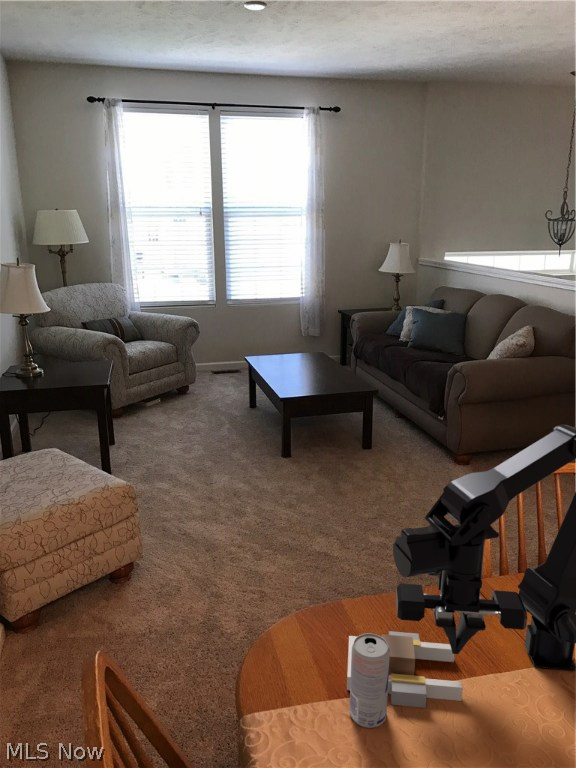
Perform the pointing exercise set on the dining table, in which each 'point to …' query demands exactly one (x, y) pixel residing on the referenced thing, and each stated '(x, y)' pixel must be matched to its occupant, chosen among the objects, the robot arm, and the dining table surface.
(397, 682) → the white u-shaped frame
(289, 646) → the dining table surface
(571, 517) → the robot arm
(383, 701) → the energy drink
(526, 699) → the dining table surface
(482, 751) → the dining table surface
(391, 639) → the block
